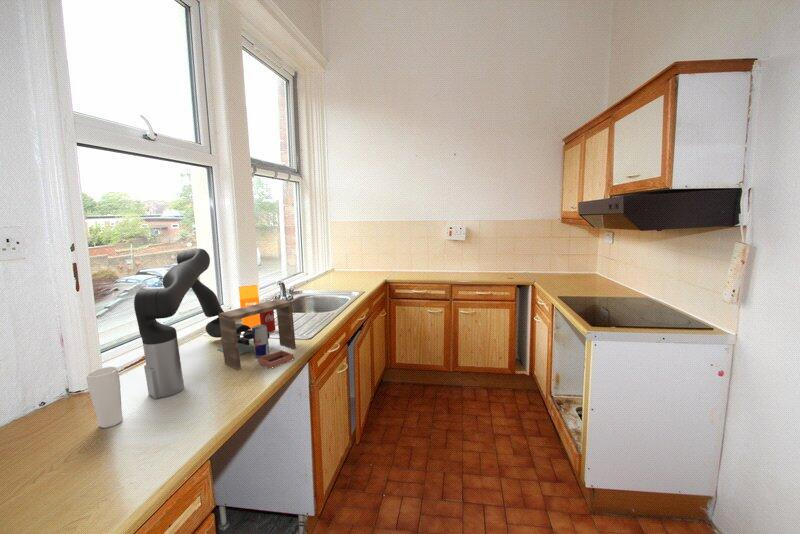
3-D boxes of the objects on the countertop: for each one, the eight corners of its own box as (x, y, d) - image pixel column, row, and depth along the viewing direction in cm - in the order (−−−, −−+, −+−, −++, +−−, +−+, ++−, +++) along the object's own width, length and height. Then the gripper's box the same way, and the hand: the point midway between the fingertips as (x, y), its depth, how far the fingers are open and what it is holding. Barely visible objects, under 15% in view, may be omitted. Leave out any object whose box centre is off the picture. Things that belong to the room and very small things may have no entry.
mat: (233, 357, 151) (233, 356, 150) (217, 349, 159) (216, 349, 159) (266, 346, 161) (266, 345, 161) (248, 340, 170) (248, 339, 170)
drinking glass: (121, 414, 111) (113, 364, 108) (129, 421, 106) (121, 370, 104) (92, 425, 105) (83, 373, 103) (99, 433, 101) (89, 379, 99)
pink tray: (270, 368, 138) (269, 363, 137) (258, 363, 143) (257, 358, 142) (294, 359, 145) (293, 354, 145) (281, 355, 150) (281, 350, 150)
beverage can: (271, 334, 176) (268, 309, 174) (258, 334, 177) (256, 309, 175) (278, 330, 182) (275, 305, 180) (266, 330, 183) (263, 305, 181)
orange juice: (262, 325, 191) (257, 286, 188) (242, 328, 187) (238, 288, 184) (261, 321, 198) (257, 283, 195) (242, 324, 195) (238, 285, 192)
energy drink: (252, 357, 149) (248, 327, 147) (262, 352, 154) (259, 323, 152) (262, 359, 147) (258, 329, 145) (272, 354, 151) (269, 325, 149)
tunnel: (236, 369, 138) (230, 317, 135) (224, 364, 144) (218, 313, 141) (295, 348, 157) (291, 301, 154) (283, 344, 163) (278, 298, 160)
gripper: (219, 328, 154) (240, 335, 144) (252, 319, 165) (274, 325, 155) (221, 346, 155) (242, 354, 145) (254, 336, 166) (275, 343, 156)
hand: (258, 339), depth 150 cm, fingers open, 8 cm apart
